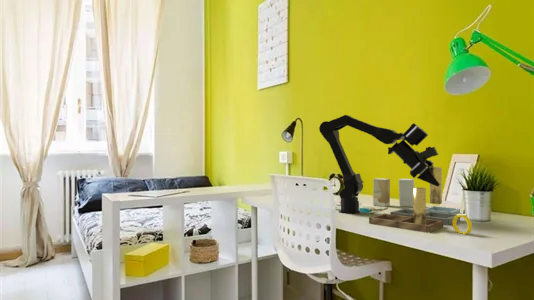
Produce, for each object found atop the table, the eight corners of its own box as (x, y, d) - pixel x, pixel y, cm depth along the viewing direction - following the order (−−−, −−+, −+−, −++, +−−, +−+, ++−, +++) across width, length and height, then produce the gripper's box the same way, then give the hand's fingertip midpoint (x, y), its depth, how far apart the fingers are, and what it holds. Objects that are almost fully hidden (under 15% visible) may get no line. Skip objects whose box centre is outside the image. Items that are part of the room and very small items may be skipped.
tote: (421, 214, 147) (421, 209, 147) (433, 210, 155) (433, 206, 155) (451, 218, 139) (451, 212, 139) (461, 214, 147) (461, 208, 147)
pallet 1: (369, 223, 132) (369, 217, 132) (385, 218, 139) (384, 213, 139) (429, 232, 117) (429, 226, 117) (443, 227, 124) (443, 221, 124)
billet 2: (427, 202, 138) (427, 167, 138) (435, 201, 140) (435, 167, 140) (436, 204, 135) (436, 167, 134) (444, 203, 136) (444, 167, 136)
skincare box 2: (415, 205, 168) (414, 178, 168) (413, 207, 164) (413, 179, 164) (400, 205, 171) (400, 178, 171) (398, 206, 167) (398, 179, 167)
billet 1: (411, 227, 124) (410, 188, 124) (416, 225, 127) (416, 187, 127) (423, 229, 122) (422, 189, 121) (428, 227, 124) (427, 188, 124)
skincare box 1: (372, 205, 171) (372, 178, 171) (377, 204, 174) (377, 177, 174) (385, 207, 166) (385, 179, 166) (390, 205, 169) (390, 178, 169)
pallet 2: (390, 217, 142) (390, 212, 142) (404, 213, 150) (403, 208, 150) (448, 225, 127) (448, 219, 127) (460, 220, 135) (460, 214, 135)
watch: (451, 232, 117) (449, 213, 118) (457, 232, 118) (456, 213, 119) (467, 235, 112) (466, 215, 112) (474, 234, 113) (472, 214, 113)
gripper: (419, 139, 131) (455, 171, 126) (427, 139, 147) (459, 168, 142) (396, 161, 135) (429, 193, 130) (406, 159, 151) (436, 188, 146)
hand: (439, 185), depth 137 cm, fingers closed on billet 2, 4 cm apart
